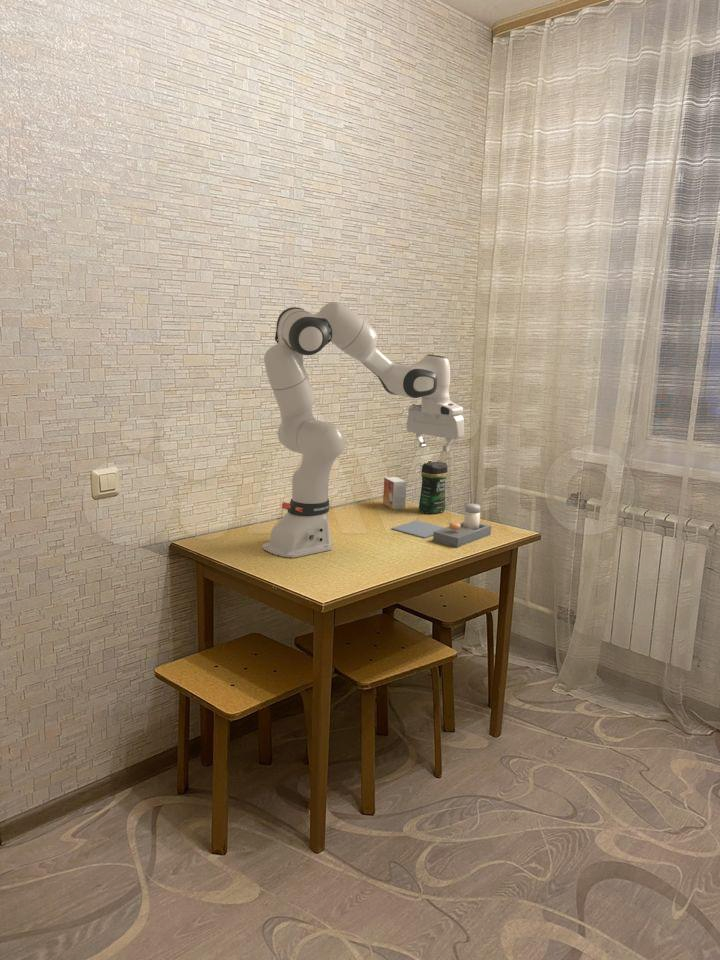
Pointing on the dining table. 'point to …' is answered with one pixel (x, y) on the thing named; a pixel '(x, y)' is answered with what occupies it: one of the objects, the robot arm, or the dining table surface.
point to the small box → (394, 492)
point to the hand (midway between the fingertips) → (433, 449)
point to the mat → (418, 528)
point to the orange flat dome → (455, 526)
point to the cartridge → (472, 516)
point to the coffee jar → (433, 487)
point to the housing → (461, 535)
